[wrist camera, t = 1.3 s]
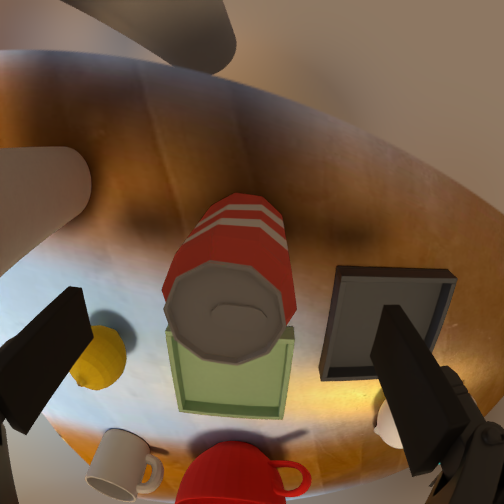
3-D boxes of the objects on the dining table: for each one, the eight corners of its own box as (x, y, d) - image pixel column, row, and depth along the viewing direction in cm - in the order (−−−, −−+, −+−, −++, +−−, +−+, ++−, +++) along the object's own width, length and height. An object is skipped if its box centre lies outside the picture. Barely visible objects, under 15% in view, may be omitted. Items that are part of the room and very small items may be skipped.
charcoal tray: (336, 265, 25) (341, 275, 23) (447, 269, 24) (457, 278, 23) (318, 368, 29) (320, 381, 27) (416, 363, 28) (422, 374, 26)
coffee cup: (128, 186, 23) (-11, 257, 9) (67, 254, 25) (-42, 345, 12) (64, 106, 21) (-81, 113, 7) (13, 182, 23) (-106, 231, 9)
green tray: (170, 319, 27) (164, 331, 25) (293, 326, 27) (294, 339, 25) (182, 399, 31) (179, 411, 29) (282, 406, 31) (283, 419, 29)
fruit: (80, 321, 28) (41, 369, 21) (112, 301, 27) (72, 352, 20) (113, 360, 30) (83, 412, 22) (148, 344, 29) (119, 402, 21)
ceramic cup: (329, 449, 34) (337, 512, 25) (229, 479, 38) (223, 533, 29) (275, 402, 31) (276, 481, 21) (168, 441, 35) (151, 501, 25)
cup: (99, 422, 35) (77, 469, 26) (166, 439, 35) (151, 493, 26) (111, 448, 37) (93, 491, 29) (172, 463, 37) (160, 511, 29)
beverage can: (279, 273, 25) (285, 379, 14) (200, 261, 25) (153, 359, 14) (292, 198, 23) (315, 263, 12) (206, 187, 23) (150, 240, 12)
